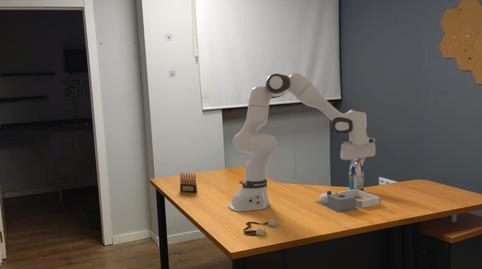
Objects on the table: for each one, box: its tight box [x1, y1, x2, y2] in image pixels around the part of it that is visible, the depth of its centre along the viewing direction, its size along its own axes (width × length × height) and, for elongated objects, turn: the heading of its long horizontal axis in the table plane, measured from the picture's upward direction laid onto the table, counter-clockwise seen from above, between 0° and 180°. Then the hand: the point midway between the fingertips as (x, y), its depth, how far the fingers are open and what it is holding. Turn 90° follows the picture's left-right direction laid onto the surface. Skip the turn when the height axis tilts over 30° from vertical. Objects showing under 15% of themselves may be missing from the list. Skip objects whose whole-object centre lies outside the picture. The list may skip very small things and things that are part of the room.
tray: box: [336, 189, 382, 209], centre depth 246 cm, size 13×20×5 cm, turn 24°
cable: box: [242, 218, 280, 237], centre depth 214 cm, size 16×16×4 cm
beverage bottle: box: [348, 158, 365, 192], centre depth 270 cm, size 8×8×20 cm
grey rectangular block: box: [315, 190, 359, 214], centre depth 240 cm, size 12×22×8 cm, turn 24°
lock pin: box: [355, 159, 362, 184], centre depth 244 cm, size 2×2×12 cm
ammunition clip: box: [179, 172, 198, 194], centre depth 282 cm, size 11×2×12 cm, turn 71°
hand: (358, 166), depth 244 cm, fingers closed on lock pin, 2 cm apart
